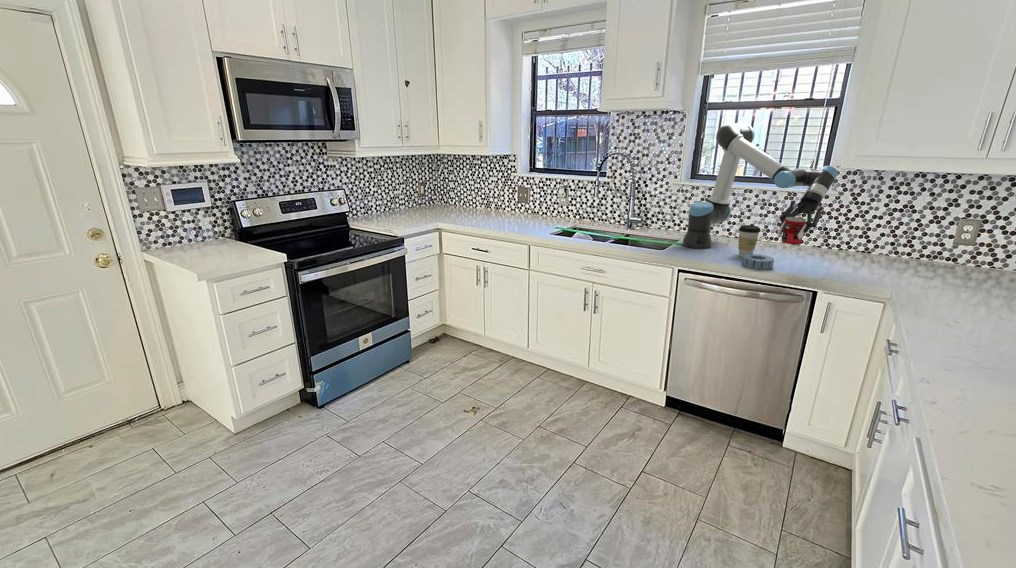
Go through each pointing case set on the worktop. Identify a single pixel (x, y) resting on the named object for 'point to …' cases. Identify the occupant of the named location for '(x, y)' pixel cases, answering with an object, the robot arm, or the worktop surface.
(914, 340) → the worktop surface
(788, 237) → the canned food
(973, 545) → the worktop surface
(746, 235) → the coffee cup
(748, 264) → the grey notched ring
